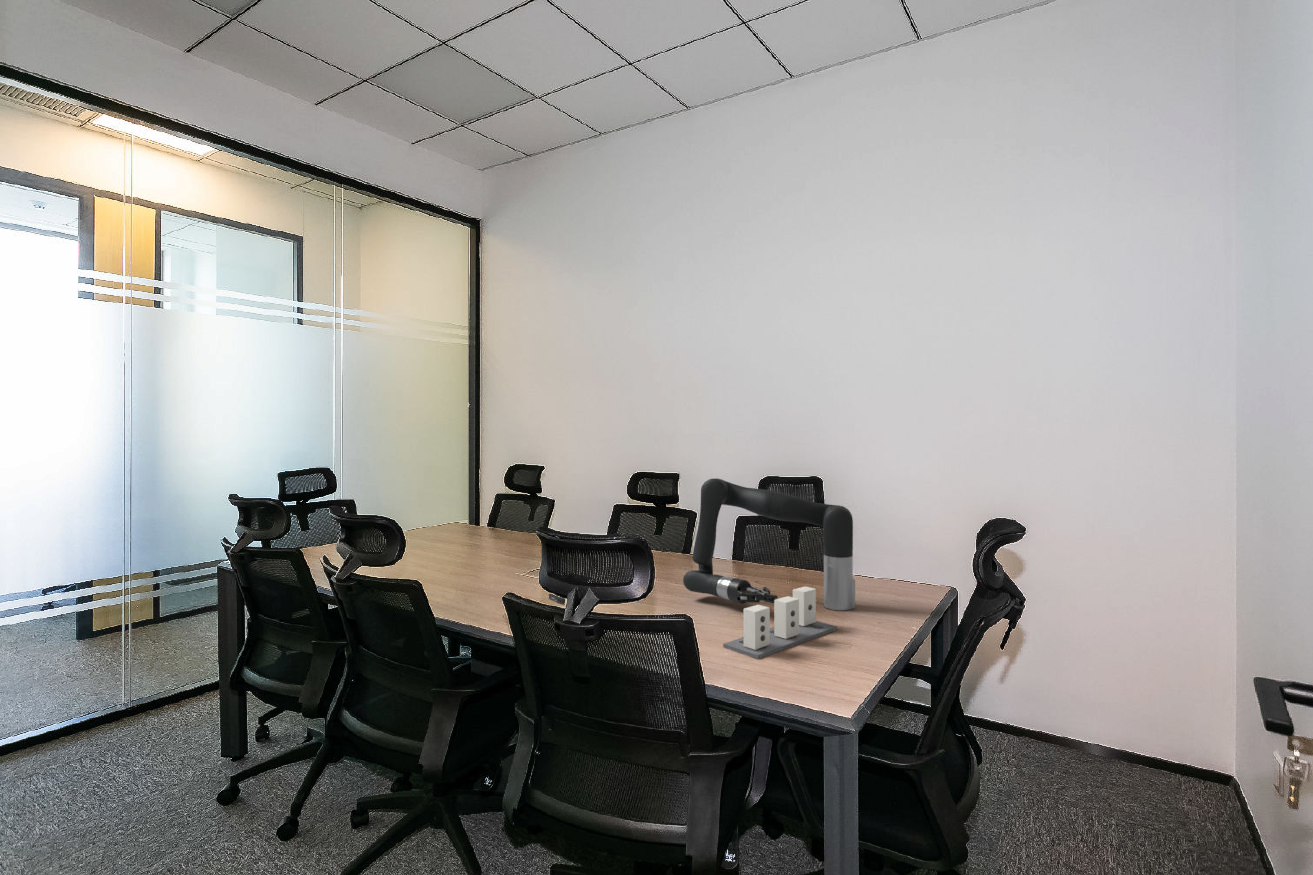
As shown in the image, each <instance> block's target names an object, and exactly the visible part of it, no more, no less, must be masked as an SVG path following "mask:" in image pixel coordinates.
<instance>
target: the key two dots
mask: <svg viewBox="0 0 1313 875" xmlns="http://www.w3.org/2000/svg"><path fill="white" fill-rule="evenodd" d="M773 604H774V605H773V606H774V608H773V610H774V616H773V617H774V618H773V619H774V626H773V627H774V635H775V636H778V637H781V638H784V639H787V638H790V637H793V636H796V635H798V634H799V599H797V598H793V596H788V595H787V596H784V597H783V596H782V597H780V598H778V599H776V600H774V603H773Z"/></svg>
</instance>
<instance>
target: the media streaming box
mask: <svg viewBox="0 0 1313 875" xmlns="http://www.w3.org/2000/svg"><path fill="white" fill-rule="evenodd" d="M548 599H550V600H551V601H553V602H555V603H557V604H560V605H563V606H565V605H564V603H565V599H564V598H561V597H558V596H555V595H553V594H549V593H548Z"/></svg>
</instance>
